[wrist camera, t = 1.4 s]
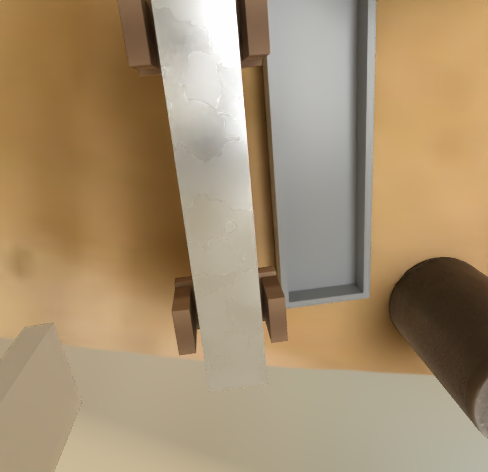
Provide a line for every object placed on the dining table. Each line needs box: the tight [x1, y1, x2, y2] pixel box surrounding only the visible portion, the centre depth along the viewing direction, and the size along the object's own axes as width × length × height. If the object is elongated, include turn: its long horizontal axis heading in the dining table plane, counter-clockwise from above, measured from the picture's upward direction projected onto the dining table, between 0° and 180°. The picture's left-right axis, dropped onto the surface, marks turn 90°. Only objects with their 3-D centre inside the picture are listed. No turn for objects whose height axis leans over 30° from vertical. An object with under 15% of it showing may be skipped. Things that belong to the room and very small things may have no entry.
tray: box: [262, 0, 376, 309], centre depth 33 cm, size 28×8×2 cm, turn 5°
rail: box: [151, 0, 268, 392], centre depth 22 cm, size 24×4×4 cm, turn 5°
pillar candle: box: [389, 257, 488, 438], centre depth 34 cm, size 10×10×15 cm
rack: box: [117, 0, 288, 355], centre depth 27 cm, size 20×7×14 cm, turn 5°
